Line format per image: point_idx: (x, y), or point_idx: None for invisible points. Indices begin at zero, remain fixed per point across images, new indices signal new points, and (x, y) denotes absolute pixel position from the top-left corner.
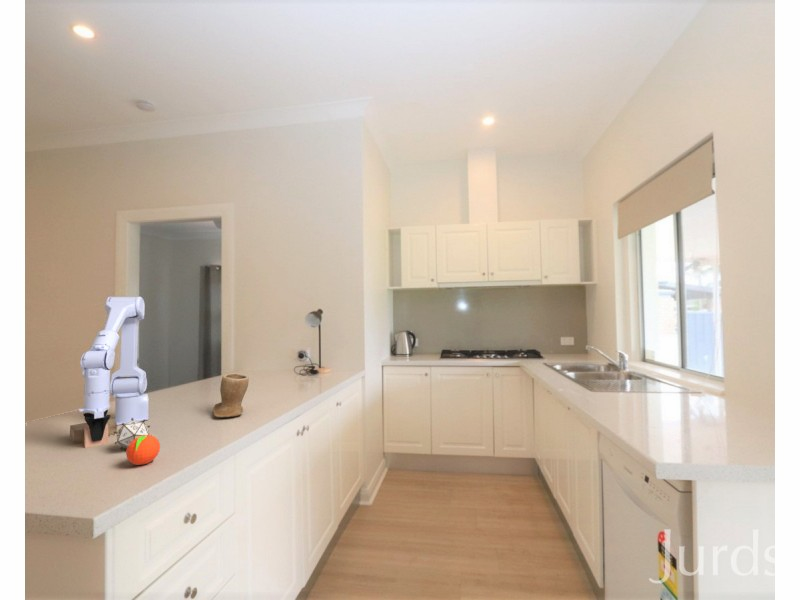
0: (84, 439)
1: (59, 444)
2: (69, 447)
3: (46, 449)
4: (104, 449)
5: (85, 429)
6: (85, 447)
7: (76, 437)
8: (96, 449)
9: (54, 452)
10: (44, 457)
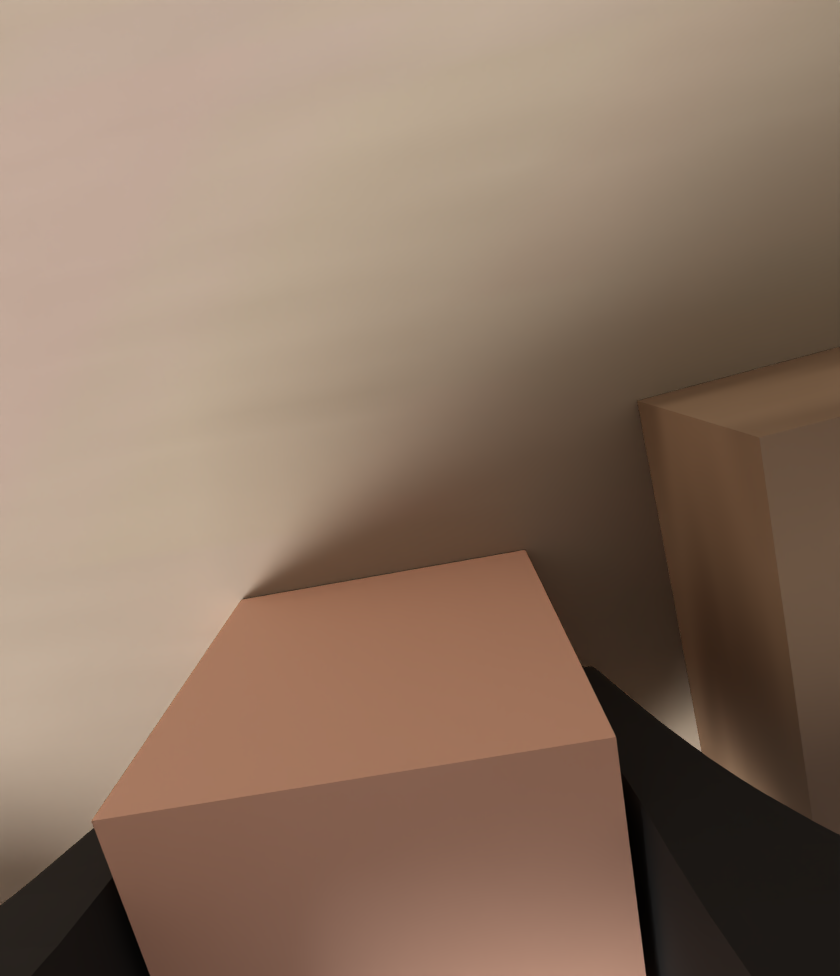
0: (466, 595)
1: (756, 174)
2: (422, 377)
3: (544, 8)
4: (21, 823)
5: (170, 805)
6: (240, 605)
7: (688, 452)
8: (75, 739)
9: (244, 199)
10: (12, 99)
